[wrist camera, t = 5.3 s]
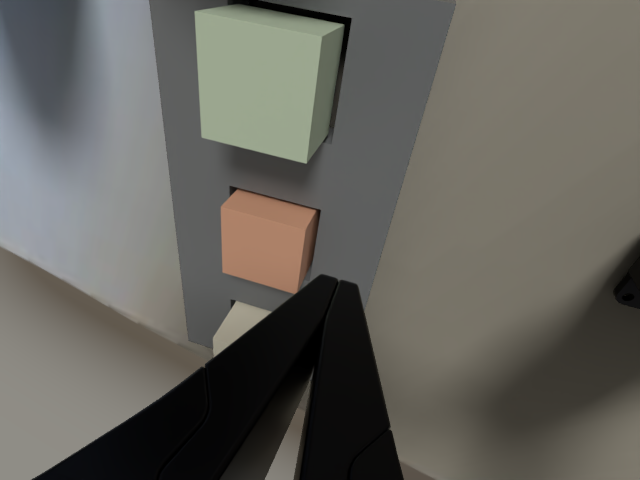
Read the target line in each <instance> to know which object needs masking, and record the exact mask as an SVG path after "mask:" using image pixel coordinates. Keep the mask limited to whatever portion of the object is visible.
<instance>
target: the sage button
mask: <svg viewBox="0 0 640 480" xmlns="http://www.w3.org/2000/svg"><path fill="white" fill-rule="evenodd" d="M344 28H345V24H340V23H335V22H330V21H325V20H320V19H314V18H309V17H304V16H299V15H294V14H289V13H284V12H279V11H273V10H268V9H263V8H258V7H253V6H248V5H243V4H235V5H228V6H222V7H216V8H210V9H204V10H198V11H195V29H196V46H197V64H198V82H199V100H200V118H201V136H202V138H205V139H209V140H213V141H217V142H221V143H225V144H229V145H233V146H237V147H241V148H245V149H249V150H253V151H257V152H261V153H265V154H269V155H273V156H277V157H281V158H285V159H289V160H293V161H297V162H301V163H306V164H307V162H308V161H309V160H310V158H311V157H312V155H313V154H314V153H315V151H316V150H317V149H318V147H319V146H320V145H321V143H322V142H323V140H324V139H325V138H326V136H327V135H328V133H329V126H330V120H331V113H332V107H333V100H334V94H335V87H336V81H337V74H338V67H339V61H340V54H341V48H342V41H343V35H344Z"/></svg>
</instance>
